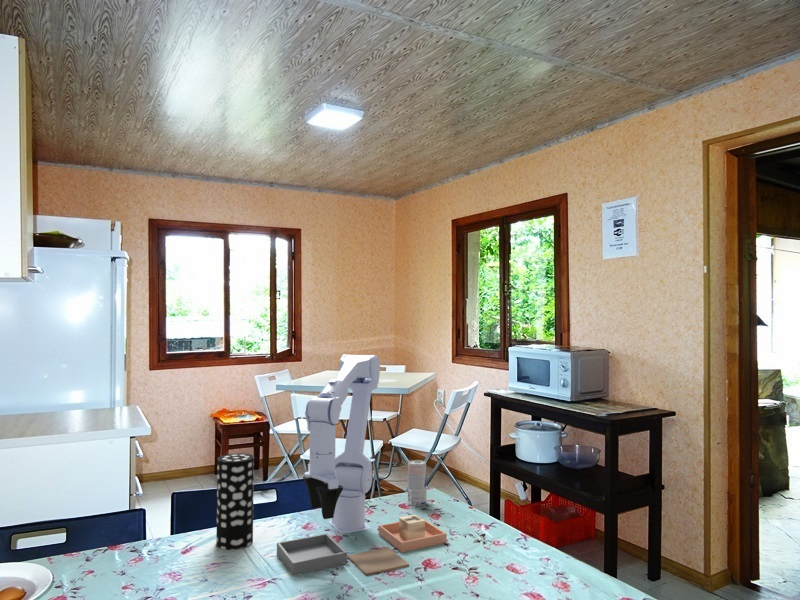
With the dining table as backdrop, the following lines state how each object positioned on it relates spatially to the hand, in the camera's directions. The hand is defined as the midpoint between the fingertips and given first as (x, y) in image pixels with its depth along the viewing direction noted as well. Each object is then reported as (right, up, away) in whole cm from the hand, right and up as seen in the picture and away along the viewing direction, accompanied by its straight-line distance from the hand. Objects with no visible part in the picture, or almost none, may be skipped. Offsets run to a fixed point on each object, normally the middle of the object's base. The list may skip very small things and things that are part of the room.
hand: (322, 512), depth 127 cm
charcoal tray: (-2, -10, -1) cm, 10 cm away
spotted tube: (-22, -10, +7) cm, 25 cm away
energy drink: (+22, -11, +35) cm, 43 cm away
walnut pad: (+13, -10, -4) cm, 16 cm away
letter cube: (+20, -10, +9) cm, 24 cm away
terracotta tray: (+20, -10, +9) cm, 25 cm away
